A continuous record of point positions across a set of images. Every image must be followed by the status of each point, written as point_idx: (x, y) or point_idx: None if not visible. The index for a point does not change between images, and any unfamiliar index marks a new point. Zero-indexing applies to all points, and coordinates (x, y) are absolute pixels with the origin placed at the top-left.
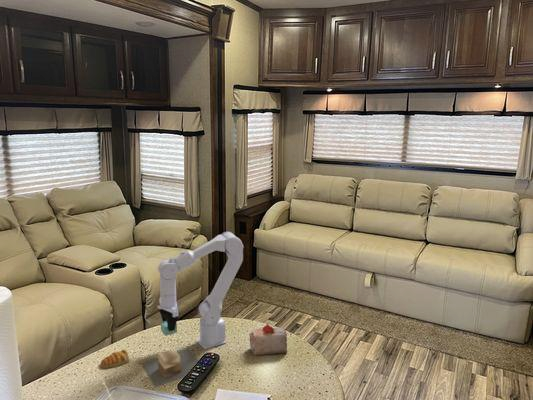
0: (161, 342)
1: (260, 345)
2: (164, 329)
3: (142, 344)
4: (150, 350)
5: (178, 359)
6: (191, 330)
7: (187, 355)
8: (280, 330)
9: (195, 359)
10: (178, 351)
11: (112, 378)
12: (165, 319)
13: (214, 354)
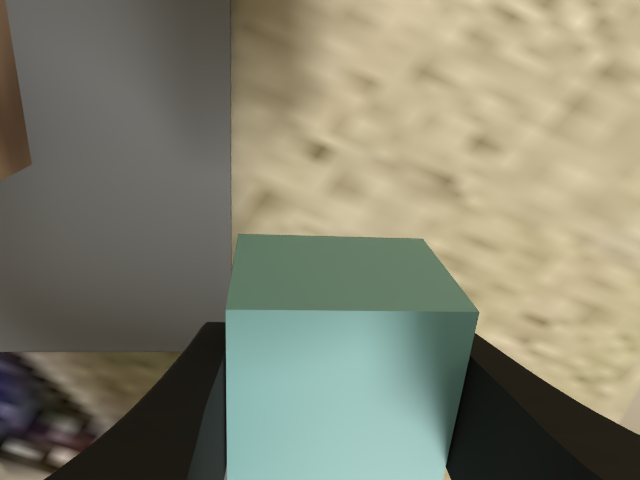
0: (478, 211)
1: None
2: (265, 277)
3: (575, 43)
4: (418, 67)
5: None
6: None
7: (119, 308)
8: None
9: (20, 336)
10: (224, 271)
11: None
12: (473, 414)
13: (50, 465)
